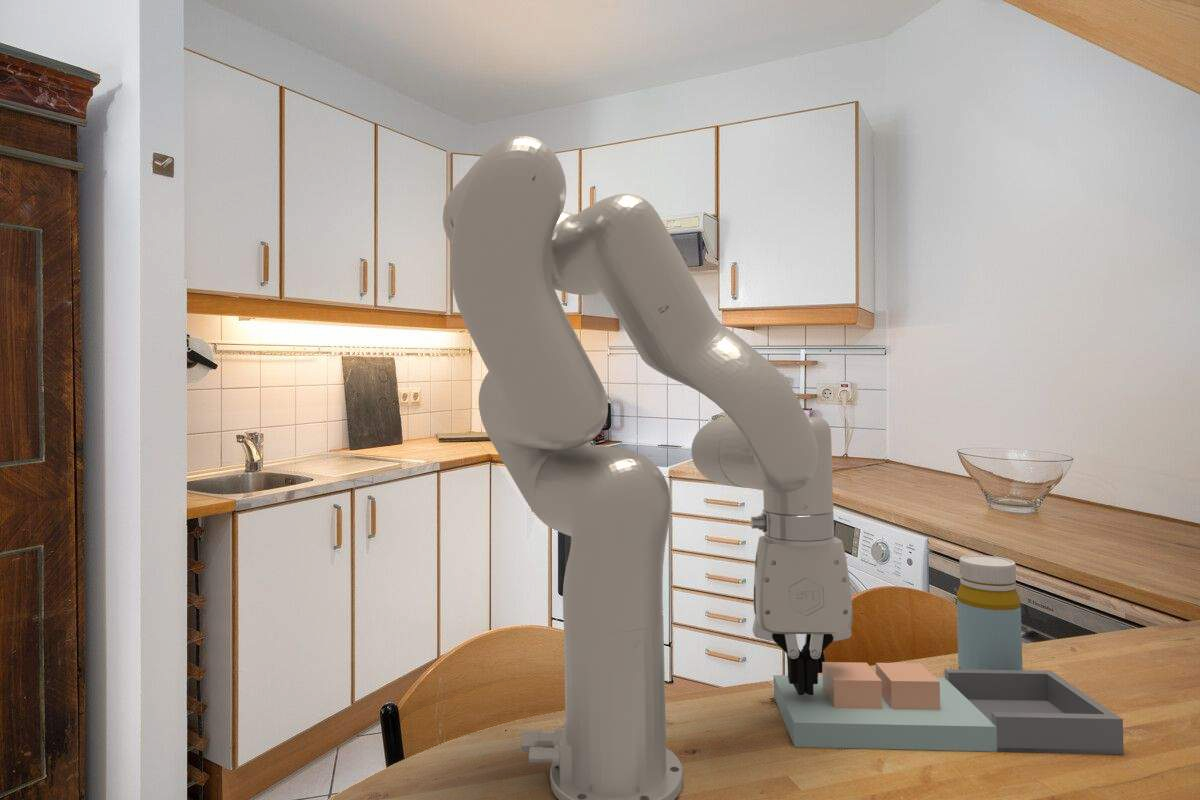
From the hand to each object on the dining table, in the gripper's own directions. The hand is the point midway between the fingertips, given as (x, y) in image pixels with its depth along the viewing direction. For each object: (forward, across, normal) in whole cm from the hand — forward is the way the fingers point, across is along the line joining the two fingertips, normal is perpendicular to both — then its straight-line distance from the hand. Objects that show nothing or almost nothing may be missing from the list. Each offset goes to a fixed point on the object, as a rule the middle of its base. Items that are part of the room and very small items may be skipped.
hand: (803, 689), depth 74 cm
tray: (+3, +24, 0) cm, 24 cm away
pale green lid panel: (+3, +8, 0) cm, 8 cm away
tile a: (+1, +5, 0) cm, 5 cm away
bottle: (+4, +26, +12) cm, 29 cm away
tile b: (+1, +11, 0) cm, 11 cm away
